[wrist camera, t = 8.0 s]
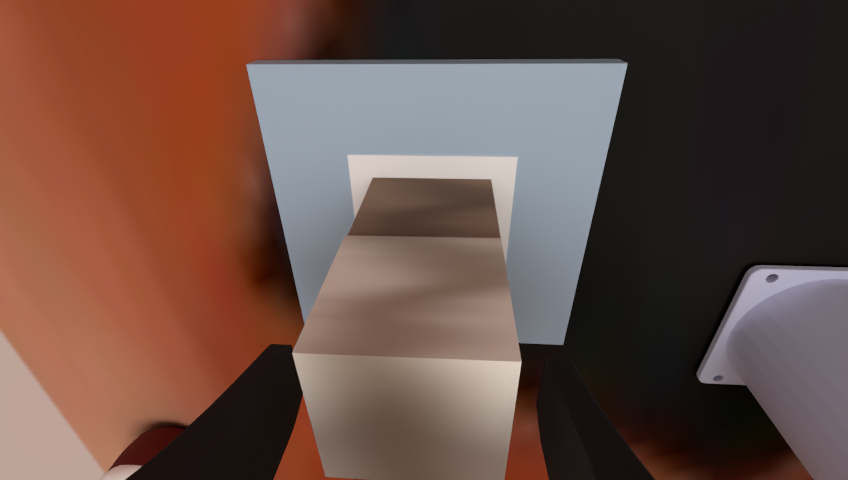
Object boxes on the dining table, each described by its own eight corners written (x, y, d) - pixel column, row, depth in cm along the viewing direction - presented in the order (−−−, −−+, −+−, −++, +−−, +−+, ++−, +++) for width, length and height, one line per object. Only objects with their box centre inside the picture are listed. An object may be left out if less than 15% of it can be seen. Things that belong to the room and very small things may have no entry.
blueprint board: (618, 58, 16) (628, 63, 15) (559, 331, 23) (563, 345, 22) (257, 60, 17) (245, 64, 16) (312, 321, 24) (306, 335, 23)
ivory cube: (501, 238, 13) (521, 362, 9) (491, 350, 16) (503, 487, 11) (344, 235, 13) (292, 353, 9) (360, 346, 16) (325, 476, 12)
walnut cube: (491, 179, 17) (501, 243, 13) (483, 275, 20) (490, 354, 16) (372, 177, 18) (345, 239, 13) (380, 272, 20) (360, 348, 16)
